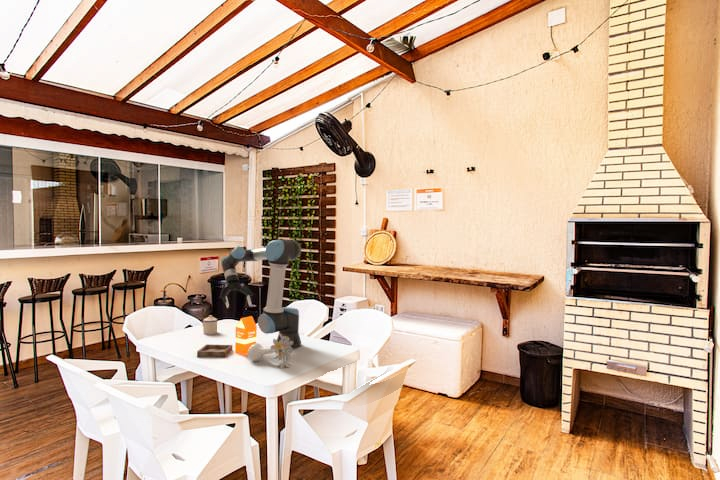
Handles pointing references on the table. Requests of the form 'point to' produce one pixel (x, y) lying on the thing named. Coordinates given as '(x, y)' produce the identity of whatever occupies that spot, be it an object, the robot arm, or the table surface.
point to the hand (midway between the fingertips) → (239, 305)
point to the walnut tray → (214, 351)
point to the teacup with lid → (210, 325)
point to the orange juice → (245, 335)
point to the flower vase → (273, 350)
